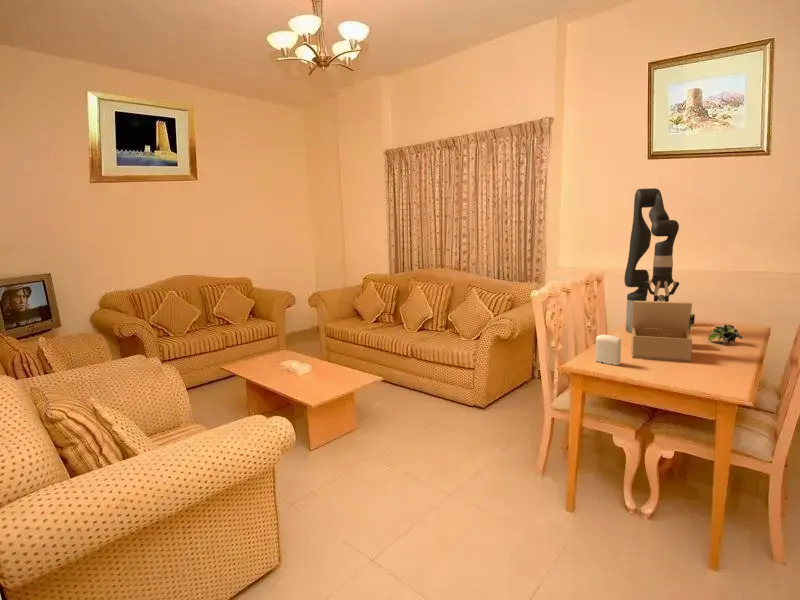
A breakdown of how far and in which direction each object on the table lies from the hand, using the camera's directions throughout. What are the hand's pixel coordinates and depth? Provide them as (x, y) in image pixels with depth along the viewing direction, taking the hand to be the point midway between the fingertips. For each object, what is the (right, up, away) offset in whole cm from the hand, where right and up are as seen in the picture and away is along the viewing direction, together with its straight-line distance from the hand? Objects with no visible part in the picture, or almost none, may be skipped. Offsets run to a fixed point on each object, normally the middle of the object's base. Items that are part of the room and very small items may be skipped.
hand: (660, 303), depth 204 cm
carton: (-1, -23, -1) cm, 23 cm away
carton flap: (0, -6, 0) cm, 6 cm away
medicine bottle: (+40, -13, +47) cm, 63 cm away
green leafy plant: (+36, -19, +11) cm, 43 cm away
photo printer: (-28, -26, -8) cm, 39 cm away
